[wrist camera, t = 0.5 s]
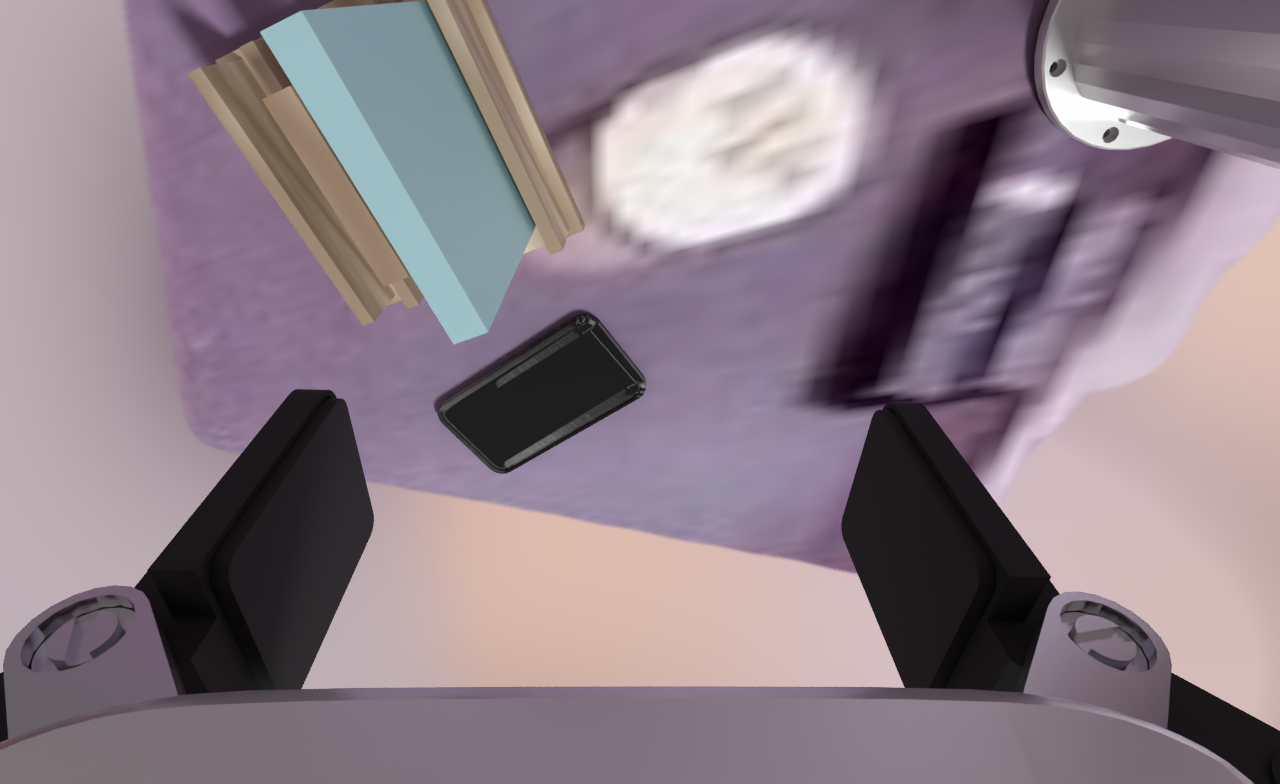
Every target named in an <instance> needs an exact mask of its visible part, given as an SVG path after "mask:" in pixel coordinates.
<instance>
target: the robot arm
mask: <svg viewBox="0 0 1280 784" xmlns="http://www.w3.org/2000/svg"><path fill="white" fill-rule="evenodd" d="M1052 64H1053V67H1052V69H1051V70H1050V66H1051V65H1052ZM1034 78H1035V83H1036V88H1037V93H1038V98H1039V100H1040V102H1041V105H1042V107H1043V109H1044V111H1045V113H1046V115H1047V116H1048V118H1049V119H1050V120H1051V121H1052V122H1053V124H1054V125H1055V126H1056V127H1057V128H1058V129H1059V130H1060V131H1062V132H1063V133H1065V134H1066V135H1067V136H1069V137H1070V138H1072V139H1074V140H1077V141H1079V142H1081V143H1084V144H1086V145H1089V146H1093V147H1096V148H1100V149H1105V150H1130V149H1136V148H1142V147H1148V146H1151V145H1154V144H1157V143H1160V142H1163V141H1166V140H1169V139H1172V138H1176V139H1179V140H1183V141H1186V142H1189V143H1193V144H1196V145H1200V146H1203V147H1206V148H1210V149H1213V150H1217V151H1220V152H1223V153H1227V154H1230V155H1233V156H1237V157H1240V158H1244V159H1247V160H1250V161H1254V162H1257V163H1261V164H1264V165H1267V166H1271V167H1274V168H1278V169H1280V0H1050V2H1049V4H1048V6H1047V9H1046V12H1045V15H1044V17H1043V20H1042V23H1041V26H1040V29H1039V33H1038V38H1037V44H1036V49H1035V55H1034ZM373 522H374V515H373V510H372V506H371V502H370V498H369V493H368V489H367V485H366V481H365V477H364V473H363V469H362V465H361V461H360V457H359V452H358V448H357V444H356V440H355V436H354V432H353V428H352V424H351V420H350V416H349V412H348V407H347V404H346V402H345V401H344V400H343V399H337V398H336V396H335V394H334V393H333V392H332V391H330V390H303V389H297V390H294V391H292V392H291V393H290V394H289V396H288V397H287V398H286V399H285V400H284V402H283V403H282V404H281V405H280V407H279V408H278V409H277V410H276V412H275V413H274V414H273V415H272V417H271V418H270V419H269V420H268V422H267V423H266V424H265V425H264V426H263V428H262V429H261V430H260V431H259V433H258V434H257V435H256V436H255V438H254V439H253V440H252V441H251V443H250V444H249V445H248V446H247V448H246V449H245V450H244V451H243V452H242V454H241V455H240V456H239V457H238V459H237V460H236V461H235V462H234V464H233V465H232V466H231V467H230V469H229V470H228V471H227V472H226V474H225V475H224V476H223V477H222V479H221V480H220V481H219V482H218V483H217V485H216V486H215V487H214V489H213V490H212V491H211V492H210V493H209V495H208V496H207V497H206V498H205V500H204V501H203V502H202V503H201V505H200V506H199V507H198V508H197V509H196V511H195V512H194V513H193V515H192V516H191V517H190V518H189V519H188V521H187V522H186V523H185V524H184V526H183V527H182V528H181V529H180V531H179V532H178V533H177V534H176V536H175V537H174V538H173V539H172V540H171V542H170V543H169V544H168V545H167V547H166V548H165V549H164V550H163V552H162V553H161V554H160V555H159V557H158V558H157V559H156V560H155V562H154V563H153V564H152V565H151V566H150V568H149V569H148V571H147V573H146V574H145V575H144V577H143V578H142V579H141V580H140V581H139V583H138V584H137V585H136V586H135V588H133V587H128V586H108V587H101V588H95V589H92V590H88V591H85V592H82V593H79V594H76V595H73V596H71V597H69V598H67V599H65V600H63V601H61V602H59V603H57V604H55V605H53V606H51V607H50V608H48V609H47V610H45V611H44V612H42V613H41V614H39V615H38V616H37V617H35V618H34V619H32V620H31V621H30V622H29V623H28V624H27V625H26V626H25V627H24V628H23V629H22V630H21V631H20V632H19V633H18V634H17V635H16V636H15V638H14V639H13V641H12V642H11V644H10V645H9V647H8V648H7V650H6V654H5V659H4V663H3V671H4V672H2V673H0V784H1280V731H1279V730H1277V729H1275V728H1273V727H1271V726H1270V725H1268V724H1266V723H1264V722H1262V721H1260V720H1258V719H1257V718H1255V717H1253V716H1251V715H1249V714H1247V713H1246V712H1244V711H1242V710H1240V709H1238V708H1236V707H1234V706H1233V705H1231V704H1229V703H1227V702H1225V701H1223V700H1221V699H1219V698H1218V697H1216V696H1214V695H1212V694H1210V693H1208V692H1206V691H1205V690H1203V689H1201V688H1199V687H1197V686H1195V685H1193V684H1192V683H1190V682H1188V681H1186V680H1184V679H1182V678H1180V677H1179V676H1177V675H1175V674H1173V673H1171V667H1172V664H1171V659H1170V653H1169V651H1168V649H1167V647H1166V646H1165V644H1164V642H1163V641H1162V639H1161V637H1159V635H1158V634H1157V633H1156V632H1155V631H1154V630H1153V629H1152V628H1151V627H1150V626H1149V624H1147V623H1146V622H1145V621H1144V620H1142V619H1141V618H1140V617H1138V616H1137V615H1136V614H1134V613H1133V612H1132V611H1130V610H1128V609H1126V608H1125V607H1123V606H1121V605H1119V604H1117V603H1116V602H1114V601H1111V600H1108V599H1106V598H1103V597H1100V596H1097V595H1095V594H1089V593H1083V592H1066V593H1062V594H1059V592H1058V591H1057V590H1056V588H1055V587H1054V586H1053V584H1052V583H1051V582H1050V578H1051V576H1050V575H1049V574H1048V573H1047V571H1046V570H1045V569H1044V567H1043V566H1042V564H1041V563H1040V562H1039V560H1038V559H1037V557H1036V556H1035V555H1034V553H1033V552H1032V551H1031V549H1030V548H1029V547H1028V545H1027V544H1026V543H1025V541H1024V540H1023V539H1022V537H1021V536H1020V534H1019V533H1018V532H1017V530H1016V529H1015V528H1014V526H1013V525H1012V524H1011V522H1010V521H1009V520H1008V518H1007V517H1006V516H1005V514H1004V513H1003V512H1002V510H1001V509H1000V507H999V506H998V505H997V503H996V502H995V501H994V499H993V498H992V497H991V495H990V494H989V492H988V491H987V490H986V488H985V487H984V486H983V484H982V483H981V482H980V480H979V479H978V478H977V476H976V475H975V474H974V472H973V471H972V469H971V468H970V467H969V465H968V464H967V463H966V461H965V460H964V459H963V457H962V456H961V455H960V453H959V452H958V450H957V449H956V448H955V446H954V445H953V444H952V442H951V441H950V440H949V438H948V437H947V436H946V434H945V433H944V432H943V430H942V429H941V427H940V426H939V425H938V423H937V422H936V421H935V419H934V418H933V417H932V415H931V414H930V413H929V411H928V410H927V409H926V407H925V406H924V405H923V404H920V403H893V402H889V403H887V404H886V405H885V406H884V408H883V410H877V411H876V412H875V413H874V415H873V417H872V420H871V424H870V427H869V430H868V434H867V437H866V441H865V444H864V447H863V451H862V454H861V457H860V461H859V464H858V467H857V471H856V474H855V477H854V481H853V484H852V488H851V491H850V494H849V498H848V501H847V504H846V508H845V511H844V514H843V518H842V526H841V527H842V536H843V539H844V542H845V544H846V546H847V549H848V551H849V554H850V556H851V559H852V561H853V563H854V566H855V568H856V571H857V573H858V576H859V578H860V580H861V583H862V585H863V588H864V590H865V592H866V595H867V597H868V600H869V602H870V604H871V607H872V609H873V612H874V614H875V617H876V619H877V622H878V624H879V626H880V629H881V631H882V634H883V636H884V639H885V641H886V643H887V646H888V648H889V651H890V653H891V655H892V658H893V660H894V663H895V665H896V667H897V670H898V672H899V675H900V677H901V680H902V682H903V684H904V687H905V688H884V687H883V688H881V687H450V688H449V687H448V688H447V687H442V688H441V687H439V688H341V689H340V688H337V689H301V688H302V686H303V684H304V682H305V679H306V677H307V675H308V673H309V671H310V668H311V666H312V664H313V662H314V660H315V657H316V655H317V653H318V651H319V648H320V646H321V644H322V642H323V640H324V637H325V635H326V633H327V631H328V629H329V626H330V624H331V622H332V619H333V617H334V615H335V613H336V611H337V609H338V606H339V604H340V602H341V600H342V597H343V595H344V593H345V591H346V588H347V586H348V584H349V582H350V580H351V577H352V575H353V573H354V571H355V568H356V566H357V564H358V562H359V560H360V558H361V555H362V553H363V551H364V549H365V546H366V544H367V542H368V540H369V538H370V535H371V532H372V529H373Z"/></svg>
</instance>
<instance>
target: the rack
mask: <svg viewBox="0 0 1280 784" xmlns="http://www.w3.org/2000/svg"><path fill="white" fill-rule="evenodd" d="M413 1H425V0H333V1H331V2H329V3H327V4H325V5H323V6H321V7H319V8H317V9H326V8H339V7H351V6H363V5H376V4H388V3H400V2H413ZM427 1H428V3H429V6H430V8H431V10H432V12H433V14H434V16H435V18H436V20H437V22H438V24H439V26H440V28H441V30H442V32H443V34H444V37H445V39H446V41H447V43H448V45H449V47H450V49H451V51H452V53H453V55H454V57H455V59H456V61H457V63H458V65H459V67H460V70H461V72H462V74H463V76H464V78H465V80H466V82H467V84H468V86H469V88H470V90H471V92H472V94H473V96H474V98H475V101H476V103H477V105H478V107H479V109H480V111H481V113H482V115H483V117H484V119H485V121H486V123H487V125H488V127H489V129H490V131H491V134H492V136H493V138H494V140H495V142H496V144H497V146H498V148H499V150H500V152H501V154H502V156H503V158H504V160H505V162H506V165H507V167H508V169H509V171H510V173H511V175H512V177H513V179H514V181H515V183H516V185H517V187H518V189H519V191H520V193H521V195H522V198H523V200H524V202H525V204H526V206H527V208H528V210H529V212H530V214H531V216H532V218H533V220H534V222H535V224H536V227H535V229H534V231H533V233H532V236H531V238H530V240H529V242H528V245H527V247H526V249H525V251H524V253H527V252H529V251H532V250H534V249H537V248H540V247H542V246H545V245H546V247H547V249H548V251H549V253H550V255H551V254H554V253H556V252H559V251H562V250H563V248H564V245H565V241H566V238H567V237H568V236H571V235H573V234H576V233H579V232H581V231H583V230H584V226H585V224H584V222H583V219H582V217H581V215H580V213H579V210H578V208H577V206H576V204H575V201H574V199H573V197H572V195H571V192H570V190H569V188H568V185H567V183H566V181H565V179H564V176H563V174H562V172H561V170H560V167H559V165H558V163H557V161H556V158H555V156H554V154H553V152H552V149H551V147H550V145H549V142H548V140H547V138H546V136H545V133H544V131H543V129H542V127H541V124H540V122H539V120H538V118H537V115H536V113H535V111H534V108H533V106H532V104H531V102H530V99H529V97H528V95H527V93H526V90H525V88H524V86H523V84H522V81H521V79H520V77H519V74H518V72H517V70H516V68H515V65H514V63H513V61H512V59H511V56H510V54H509V52H508V50H507V47H506V45H505V43H504V40H503V38H502V36H501V34H500V31H499V29H498V27H497V25H496V22H495V20H494V18H493V16H492V13H491V11H490V9H489V7H488V4H487V2H486V0H427ZM215 61H216V63H217V64H214V65H209V66H204V67H199V68H198V69H196V70H194V71H192V72H190V73H188V75H189V77H190V78H191V80H192V81H193V83H194V84H195V86H196V87H197V88H198V90H199V91H200V93H201V94H202V96H203V97H204V98H205V100H206V101H207V103H208V104H209V106H210V107H211V108H212V110H213V111H214V113H215V114H216V116H217V117H218V119H219V120H220V121H221V123H222V124H223V126H224V127H225V129H226V130H227V131H228V133H229V134H230V136H231V137H232V139H233V140H234V141H235V143H236V144H237V146H238V147H239V149H240V150H241V152H242V153H243V154H244V156H245V157H246V159H247V160H248V162H249V163H250V164H251V166H252V167H253V169H254V170H255V172H256V173H257V174H258V176H259V177H260V179H261V180H262V182H263V183H264V184H265V186H266V187H267V189H268V190H269V192H270V193H271V195H272V196H273V197H274V199H275V200H276V202H277V203H278V205H279V206H280V207H281V209H282V210H283V212H284V213H285V215H286V216H287V217H288V219H289V220H290V222H291V223H292V225H293V226H294V228H295V229H296V230H297V232H298V233H299V235H300V236H301V238H302V239H303V240H304V242H305V243H306V245H307V246H308V248H309V249H310V250H311V252H312V253H313V255H314V256H315V258H316V259H317V261H318V262H319V263H320V265H321V266H322V268H323V269H324V271H325V272H326V273H327V275H328V276H329V278H330V279H331V281H332V282H333V283H334V285H335V286H336V288H337V289H338V291H339V292H340V293H341V295H342V296H343V298H344V299H345V301H346V302H347V304H348V305H349V306H350V308H351V309H352V311H353V312H354V314H355V315H356V316H357V318H358V319H359V321H360V322H361V324H362V325H363V326H364V325H367V324H369V323H372V322H374V321H375V320H376V319H377V317H378V316H379V315H380V314H381V312H382V311H383V310H384V309H385V307H386V306H388V305H391V304H394V303H396V302H399V301H401V300H402V301H403V303H404V304H405V306H406V307H407V309H409V308H412V307H414V306H417V305H419V304H420V302H421V301H422V300H423V298H424V296H423V294H422V292H421V291H420V289H419V288H418V286H417V284H416V283H415V281H414V280H413V278H412V276H411V275H410V276H409V277H407V278H405V279H402V280H400V281H397V282H395V283H392V284H390V285H387V286H383V285H382V283H381V282H380V280H379V279H378V277H377V275H376V274H375V272H374V271H373V269H372V268H371V266H370V265H369V263H368V262H367V260H366V259H365V257H364V256H363V254H362V252H361V251H360V249H359V248H358V246H357V245H356V243H355V242H354V240H353V239H352V237H351V236H350V234H349V233H348V231H347V230H346V228H345V226H344V225H343V223H342V222H341V220H340V219H339V217H338V216H337V214H336V213H335V211H334V210H333V208H332V207H331V205H330V203H329V202H328V200H327V199H326V197H325V196H324V194H323V193H322V191H321V190H320V188H319V187H318V185H317V184H316V182H315V180H314V179H313V177H312V176H311V174H310V173H309V171H308V170H307V168H306V167H305V165H304V164H303V162H302V161H301V159H300V158H299V156H298V154H297V153H296V151H295V150H294V148H293V147H292V145H291V144H290V142H289V141H288V139H287V138H286V136H285V135H284V133H283V131H282V130H281V128H280V127H279V125H278V124H277V122H276V121H275V119H274V118H273V116H272V115H271V113H270V112H269V110H268V108H267V107H266V105H265V104H264V102H263V101H262V99H264V98H266V97H268V96H270V95H272V94H274V93H276V92H278V91H280V90H282V89H284V88H286V87H289V86H291V85H292V83H291V82H290V80H289V78H288V77H287V75H286V74H285V72H284V70H283V69H282V67H281V65H280V64H279V62H278V61H277V59H276V57H275V56H274V54H273V53H272V51H271V49H270V48H269V46H268V45H267V43H266V41H265V40H264V38H263V36H262V37H260V38H258V39H256V40H253V41H251V42H249V43H247V44H245V45H243V46H241V47H239V49H237V50H235V51H233V52H231V53H229V54H227V55H225V56H223V57H221V58H219V59H217V60H215ZM524 253H523V254H524Z"/></svg>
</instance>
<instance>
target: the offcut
mask: <svg viewBox="0 0 1280 784" xmlns="http://www.w3.org/2000/svg"><path fill="white" fill-rule="evenodd" d="M262 101H263V102H264V104H265V105H266V107H267V108H268V110H269V112H270V113H271V115H272V116H273V118H274V119H275V121H276V122H277V124H278V125H279V127H280V128H281V130H282V131H283V133H284V135H285V136H286V138H287V139H288V141H289V142H290V144H291V145H292V147H293V148H294V150H295V151H296V153H297V154H298V156H299V158H300V159H301V161H302V162H303V164H304V165H305V167H306V168H307V170H308V171H309V173H310V174H311V176H312V177H313V179H314V180H315V182H316V184H317V185H318V187H319V188H320V190H321V191H322V193H323V194H324V196H325V197H326V199H327V200H328V202H329V203H330V205H331V207H332V208H333V210H334V211H335V213H336V214H337V216H338V217H339V219H340V220H341V222H342V223H343V225H344V226H345V228H346V230H347V231H348V233H349V234H350V236H351V237H352V239H353V240H354V242H355V243H356V245H357V246H358V248H359V249H360V251H361V252H362V254H363V256H364V257H365V259H366V260H367V262H368V263H369V265H370V266H371V268H372V269H373V271H374V272H375V274H376V275H377V277H378V279H379V280H380V282H381V283H382V285H383V286H387V285H390V284H392V283H395V282H397V281H400V280H402V279H405V278H407V277H409V276H410V273H409V272H408V270H407V268H406V267H405V265H404V263H403V262H402V260H401V259H400V257H399V255H398V254H397V252H396V251H395V249H394V247H393V246H392V244H391V243H390V241H389V239H388V238H387V236H386V235H385V233H384V231H383V230H382V228H381V226H380V225H379V223H378V222H377V220H376V218H375V217H374V215H373V214H372V212H371V210H370V209H369V207H368V206H367V204H366V202H365V201H364V199H363V197H362V196H361V194H360V193H359V191H358V189H357V188H356V186H355V185H354V183H353V181H352V180H351V178H350V177H349V175H348V173H347V172H346V170H345V169H344V167H343V165H342V164H341V162H340V160H339V159H338V157H337V156H336V154H335V152H334V151H333V149H332V148H331V146H330V144H329V143H328V141H327V140H326V138H325V136H324V135H323V133H322V131H321V130H320V128H319V127H318V125H317V123H316V122H315V120H314V119H313V117H312V115H311V114H310V112H309V111H308V109H307V107H306V106H305V104H304V102H303V101H302V99H301V98H300V96H299V94H298V93H297V91H296V90H295V88H294V86H293V85H291V86H289V87H286V88H284V89H282V90H280V91H278V92H276V93H274V94H272V95H270V96H268V97H266V98H264V99H262Z"/></svg>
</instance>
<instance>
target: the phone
mask: <svg viewBox="0 0 1280 784" xmlns="http://www.w3.org/2000/svg"><path fill="white" fill-rule="evenodd" d="M645 389H646V381H645V377H644V376H643V374H642V373H641V371H640V370H639V369H638V368H637V366H636V365H635V364H634V363H633V361H632V360H631V359H630V358H629V356H628V355H627V354H626V353H625V351H624V350H623V349H622V348H621V346H620V345H619V344H618V343H617V341H616V340H615V339H614V338H613V336H612V335H611V334H610V333H609V331H608V330H607V329H606V328H605V326H604V325H603V324H602V323H601V321H600V320H599V319H598V318H597V317H595V316H593V315H590V314H581V315H578V316H576V317H575V318H573V319H572V320H570V321H569V322H567V323H565V324H563V325H561V326H560V327H559V328H558V329H556V330H554V331H552V332H550V333H549V334H547V335H545V336H544V337H543V338H542V339H539V340H537V341H536V342H534V343H533V344H531V345H530V347H528V348H526V349H525V350H523V351H522V352H520V353H519V354H517V355H516V356H514V357H512V358H511V359H509V360H508V361H506V362H505V363H503V364H502V365H500V366H498V367H497V368H495V369H494V370H492V371H491V372H489V373H488V374H486V375H484V376H483V377H481V378H480V379H478V380H477V381H475V382H474V383H472V384H470V385H469V386H467V387H466V388H464V389H463V390H461V391H460V392H458V393H456V394H455V395H453V396H452V397H450V398H449V399H447V400H446V401H444V402H443V403H442V405H441V407H440V409H439V412H438V417H439V420H440V421H441V422H442V424H443V425H445V426H446V427H447V428H448V429H449V430H450V431H451V432H452V433H453V434H454V435H455V436H456V437H457V438H458V439H459V440H460V441H461V442H462V443H463V444H464V445H466V446H467V447H468V448H469V449H470V450H471V451H472V452H473V453H474V454H475V455H476V456H477V457H478V458H479V459H480V460H481V461H482V462H483V463H484V464H485V465H486V466H488V467H489V468H490V469H491V470H492V471H494V472H496V473H502V474H503V473H508V472H511V471H512V470H514V469H516V468H518V467H519V466H521V465H523V464H525V463H526V462H528V461H530V460H532V459H533V458H535V457H537V456H539V455H540V454H542V453H544V452H546V451H547V450H549V449H551V448H553V447H554V446H556V445H558V444H560V443H561V442H563V441H565V440H567V439H568V438H570V437H572V436H574V435H575V434H577V433H579V432H581V431H583V430H584V429H586V428H588V427H590V426H591V425H593V424H595V423H597V422H598V421H600V420H602V419H604V418H605V417H607V416H609V415H611V414H612V413H614V412H616V411H618V410H619V409H621V408H623V407H625V406H626V405H628V404H630V403H632V402H633V401H635V400H637V399H639V398H640V397H641V396H643V394H644V392H645Z"/></svg>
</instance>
